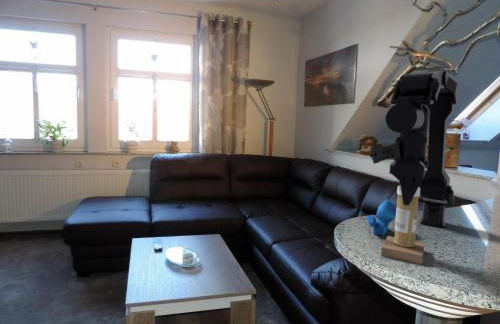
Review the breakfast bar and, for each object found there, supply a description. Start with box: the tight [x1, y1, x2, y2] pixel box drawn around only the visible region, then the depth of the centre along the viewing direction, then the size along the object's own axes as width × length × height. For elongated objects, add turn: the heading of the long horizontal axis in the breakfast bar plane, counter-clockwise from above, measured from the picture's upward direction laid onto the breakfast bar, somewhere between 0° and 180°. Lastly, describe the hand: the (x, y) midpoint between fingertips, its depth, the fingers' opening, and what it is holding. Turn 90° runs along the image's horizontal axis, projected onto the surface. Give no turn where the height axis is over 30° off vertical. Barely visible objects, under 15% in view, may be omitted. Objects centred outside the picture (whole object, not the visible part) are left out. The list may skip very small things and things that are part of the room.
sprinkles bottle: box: [394, 184, 420, 247], centre depth 74 cm, size 5×5×13 cm
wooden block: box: [380, 235, 425, 265], centre depth 74 cm, size 9×8×2 cm
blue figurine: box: [365, 198, 397, 237], centre depth 89 cm, size 7×9×12 cm
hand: (407, 202), depth 73 cm, fingers open, 5 cm apart
